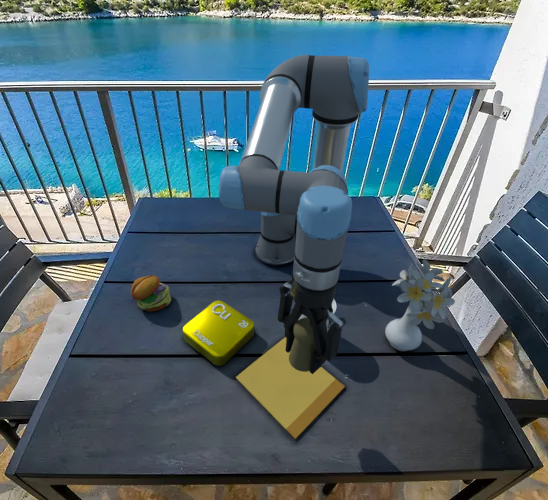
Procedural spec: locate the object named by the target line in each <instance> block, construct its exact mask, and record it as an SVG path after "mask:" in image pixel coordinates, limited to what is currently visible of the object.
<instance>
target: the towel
mask: <svg viewBox="0 0 548 500" xmlns="http://www.w3.org/2000/svg"><path fill="white" fill-rule="evenodd" d="M286 339H287V338H286V337H285V336H284V338H282V339H281V340H280V341H278V342H277V343H276V344H274V345H273V346H272V347H271V348H270V349H269V350H267V351H266V352H264V353H263V354H262V355H261V356H260V357H258V359H256V360H255V361H253V362H252V363H251V364H250V365H248V366H247V367H246V368H245V369H244V370H242V371H241V372H240V373H239V374H238V375H236V376H235V379H236V380H237V381H238V382H239V383H240V385H242V386H243V387H244V388H245V389H246V390H247V391H248V392H249V394H250V395H251V396H253V398H254V399H255V400H256V401H257V402H258V403H259V404H260V405H261V406H262V407H263V408H264V409H265V410H266V411H267V412H268V414H270V416H272V418H274V420H276V422H277V423H278V424H279V425H280V426H281V427H282V428H283V429H284V430H285V431H286V432H287V433H288V434H289V435H290V436H291V437H292V438H293V440H297V438H298V437H300V436H301V434H302V433H303V432H304V431H305V430H307V428H308V427H309V426H310V425H311V424H312V423H313V422H314V421H315V420H316V419H317V417H319V416H320V414H321V413H323V411H324V410H325V409H326V408H327V407H328V406H329V405H330V404H331V403H332V402H333V401H334V400H335V399H336V398H337V396H338V395H339V394H340V393H341V392H342V391H343V390H344V389H345V388H346V386H345V385H344V384H343V383H342V382H340V381H339V380H338V379H337V378H335V376H333V375H332V374H331V373H329V372H328V371H327V370H326V369H324V367H322V366H321V367H320V368H319V369H318V370H317V371H316V372H315V373H313V374H312V373H310V371H307V372H302V371H299V370H296V369H295V368H293V367H292V365H291V364H290V362H289V354H290V352H289V353H287V352H286V351H285V350H286Z"/></svg>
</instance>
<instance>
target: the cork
mask: <svg viewBox="0 0 548 500" xmlns="http://www.w3.org/2000/svg"><path fill="white" fill-rule="evenodd" d="M294 335H295V338H294V342H293V345H292V348H291V351H290V354H289V362H290V364H291V365H292V367H293V368H295V369H296V370H299V371H302V372H307V371H310V367H311V361H312V356H313V352H314V351H315V350H316V345H315V339H314V333H313V328H312V327H310V322H309V319H308V318H302V319H300V320H298V321H297V322H296V323H295V324H294Z"/></svg>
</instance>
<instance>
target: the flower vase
mask: <svg viewBox="0 0 548 500" xmlns="http://www.w3.org/2000/svg"><path fill="white" fill-rule="evenodd" d="M416 265H417V267H418V268H419V270H420V271H421V272H422V274H423V276H422V274H421V273H420V272H419V271H417V270H415V269H413V266H414V262H411V263H410V265H409V266H408V269H407V270H406V269H402V270H401V271H399V277H400V279H397V280H396V281H394V282H393V283H392V284H391V286H392V287H393V286H394V287H395V286H396V287H399V286H400V287H401V289H402V290H404V291H405V292H404V293H403V292H402V293H401V294H399V295H398V296H397V299H396V300H397V302H398V303H407V302H409V303H408V306H407V308H406V310H405V312H404V314H403V316H402V317H400V318H394V319H392V320H390V321H389V322H388V323H387V325H385V328H384V333H385V334H384V335H385V337H386V339H387V341H388V342H389V344H390V345H391V347H392V348H394V349H395V350H397V351H400V352H408V351H413V350H416V349H417V348H419V347H420V346H421V344H422V342H423V333H422V330H421V329H420V327H419V326H418V325H419V324H421V323H423V325H424V326H425V327H426V328H427V329H429V330H434V329H435V324H434V322H435V323H439V324H440V323H445V319H446V318H447V311H446V308H445V307H447V308H450V307H451V306H453V305H454V304H455V302H456V300H455V299H454V298H452V297H453V292H452V289H450V284H451V281H452V276H451V275H449V277H448V278H446V279H444V278H443V277H442V276H440V275H443V273H444V271H443V269H441V268H436V267H435V268H431V265H430V263H429V261H428V260H427V259H422V264H421V263H419V262H416ZM412 277H414V279H413V278H412ZM434 280H437V281H440V282H437V281H434ZM441 282H443V283H441ZM432 292H435V293H434V294H433V295H431V294H430V293H432ZM437 292H438V293H437ZM427 302H432V307H431V311H427V310H426V303H427ZM437 313H438V315H439V317H438V316H436V315H437Z"/></svg>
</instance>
